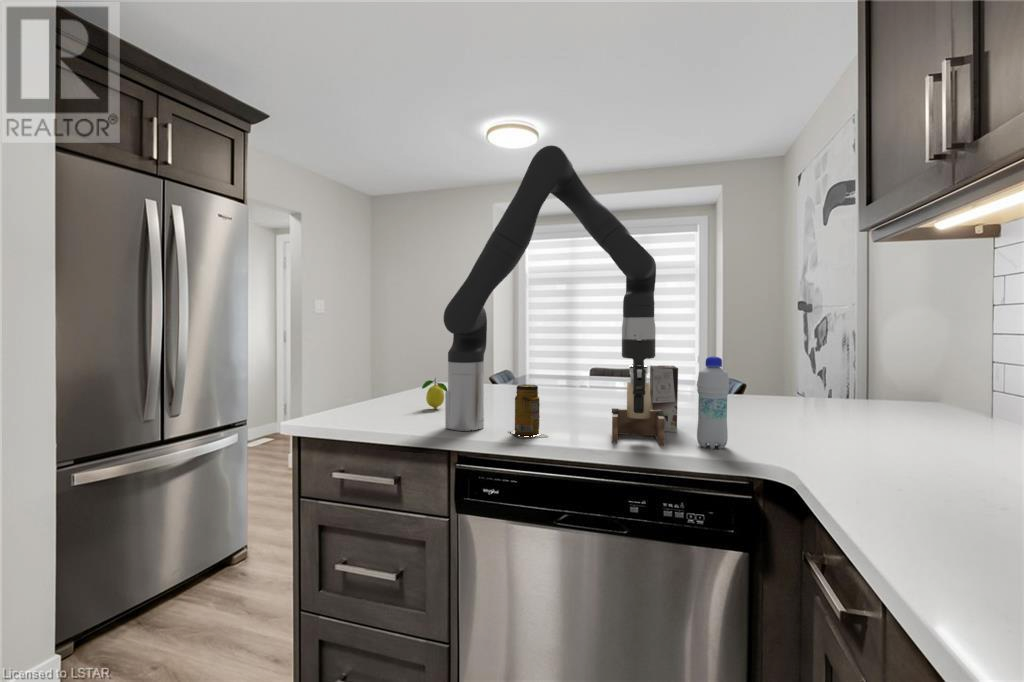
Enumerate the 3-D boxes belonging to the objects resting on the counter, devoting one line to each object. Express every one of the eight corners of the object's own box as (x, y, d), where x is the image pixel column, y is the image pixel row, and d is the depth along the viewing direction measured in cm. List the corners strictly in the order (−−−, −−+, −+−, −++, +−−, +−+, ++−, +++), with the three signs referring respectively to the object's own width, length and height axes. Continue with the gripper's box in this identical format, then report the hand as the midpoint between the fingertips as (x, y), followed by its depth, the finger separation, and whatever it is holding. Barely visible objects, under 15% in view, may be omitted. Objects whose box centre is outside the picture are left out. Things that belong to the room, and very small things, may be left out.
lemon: (421, 410, 157) (421, 378, 156) (427, 407, 162) (427, 376, 162) (442, 410, 156) (442, 378, 155) (447, 407, 161) (447, 376, 161)
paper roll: (627, 418, 115) (627, 382, 114) (626, 414, 120) (626, 380, 120) (650, 419, 114) (650, 383, 113) (649, 414, 119) (649, 380, 118)
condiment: (534, 430, 129) (534, 383, 128) (548, 437, 121) (548, 387, 120) (507, 432, 126) (507, 384, 126) (520, 439, 118) (520, 388, 118)
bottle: (727, 444, 114) (728, 355, 113) (729, 451, 107) (731, 357, 107) (695, 442, 116) (696, 355, 115) (696, 448, 110) (697, 357, 109)
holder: (611, 442, 115) (611, 412, 114) (611, 432, 126) (612, 404, 125) (665, 445, 112) (665, 414, 112) (661, 434, 123) (661, 406, 123)
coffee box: (678, 432, 126) (678, 368, 125) (651, 431, 127) (652, 367, 127) (673, 425, 135) (674, 365, 134) (648, 424, 136) (649, 364, 136)
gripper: (621, 336, 124) (621, 405, 124) (621, 338, 110) (621, 415, 110) (653, 336, 122) (652, 406, 123) (657, 338, 108) (657, 417, 109)
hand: (638, 410), depth 117 cm, fingers closed on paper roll, 5 cm apart
